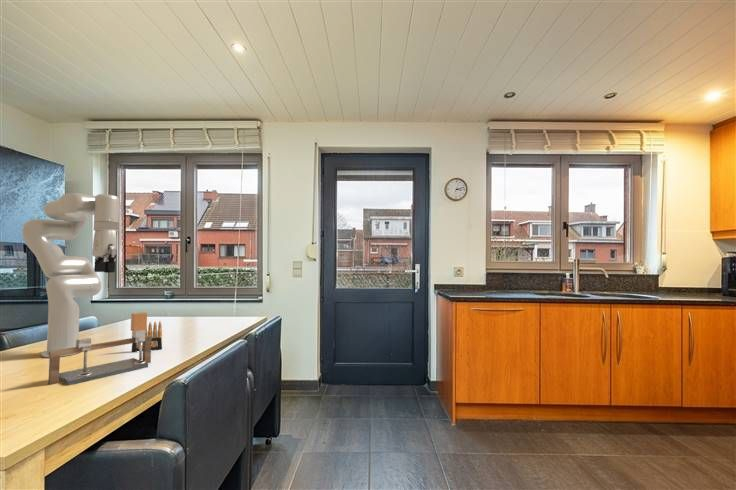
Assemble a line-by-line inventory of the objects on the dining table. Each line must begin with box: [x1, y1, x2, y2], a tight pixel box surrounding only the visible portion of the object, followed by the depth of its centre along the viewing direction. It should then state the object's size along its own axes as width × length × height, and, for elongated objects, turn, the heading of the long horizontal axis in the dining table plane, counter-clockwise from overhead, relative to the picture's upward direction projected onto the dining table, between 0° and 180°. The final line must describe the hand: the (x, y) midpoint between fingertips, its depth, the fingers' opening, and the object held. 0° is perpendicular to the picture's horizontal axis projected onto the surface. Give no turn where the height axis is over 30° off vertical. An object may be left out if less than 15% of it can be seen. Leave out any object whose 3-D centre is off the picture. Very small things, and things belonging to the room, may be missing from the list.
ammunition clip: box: [131, 320, 163, 353], centre depth 144 cm, size 11×2×12 cm, turn 116°
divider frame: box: [48, 334, 153, 385], centre depth 116 cm, size 4×28×12 cm, turn 145°
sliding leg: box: [130, 311, 148, 361], centre depth 124 cm, size 5×4×16 cm
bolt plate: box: [59, 357, 149, 386], centre depth 116 cm, size 12×23×1 cm, turn 145°
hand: (104, 272), depth 130 cm, fingers open, 9 cm apart
